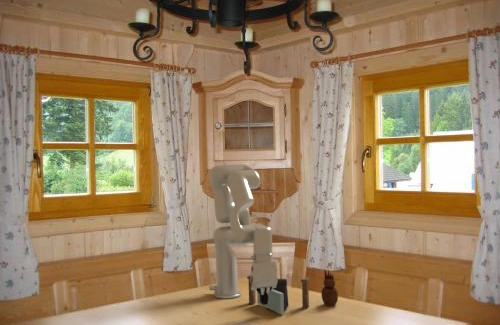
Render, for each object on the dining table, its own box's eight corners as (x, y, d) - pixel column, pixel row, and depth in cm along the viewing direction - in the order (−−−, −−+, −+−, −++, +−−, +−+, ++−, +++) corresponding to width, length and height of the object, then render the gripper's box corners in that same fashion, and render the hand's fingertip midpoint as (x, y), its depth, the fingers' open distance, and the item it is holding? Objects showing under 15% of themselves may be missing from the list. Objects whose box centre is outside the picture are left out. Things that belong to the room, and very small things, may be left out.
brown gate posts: (247, 304, 223) (247, 276, 223) (250, 302, 227) (250, 274, 227) (308, 308, 214) (307, 279, 214) (310, 306, 218) (309, 277, 218)
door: (257, 303, 222) (257, 284, 222) (262, 302, 224) (262, 283, 224) (280, 314, 206) (280, 293, 206) (286, 312, 207) (286, 292, 207)
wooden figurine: (319, 305, 220) (318, 269, 219) (327, 302, 224) (326, 267, 224) (332, 307, 215) (331, 271, 215) (340, 304, 219) (339, 269, 219)
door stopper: (285, 311, 212) (284, 282, 212) (270, 310, 213) (270, 281, 213) (288, 305, 221) (287, 277, 220) (274, 304, 222) (274, 276, 222)
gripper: (249, 261, 201) (250, 308, 201) (284, 257, 207) (285, 303, 207) (242, 258, 208) (243, 304, 208) (275, 254, 213) (276, 299, 214)
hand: (264, 303), depth 207 cm, fingers closed
